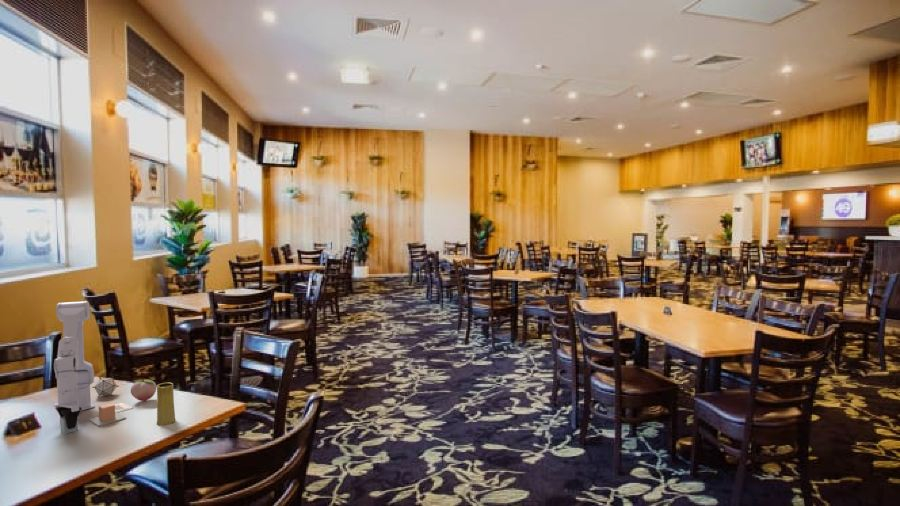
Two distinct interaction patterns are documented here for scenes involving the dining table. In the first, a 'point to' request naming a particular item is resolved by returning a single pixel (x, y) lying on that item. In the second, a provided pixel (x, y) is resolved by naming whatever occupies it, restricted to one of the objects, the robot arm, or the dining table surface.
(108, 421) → the plate
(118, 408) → the card
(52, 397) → the dining table surface
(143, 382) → the decorative fruit
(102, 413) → the brick terracotta
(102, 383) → the game die
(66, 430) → the brick blue
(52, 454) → the dining table surface
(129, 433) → the dining table surface
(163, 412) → the vase
